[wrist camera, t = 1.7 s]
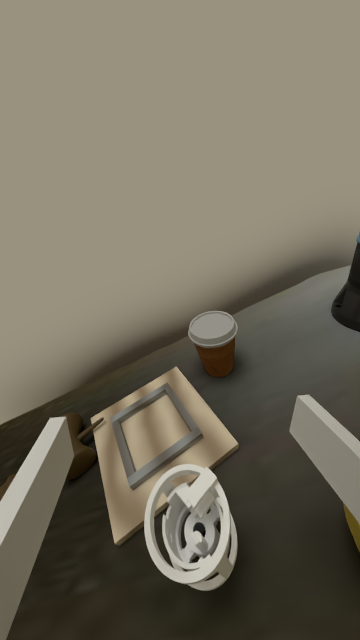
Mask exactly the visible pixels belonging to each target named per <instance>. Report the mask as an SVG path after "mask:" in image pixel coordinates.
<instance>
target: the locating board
mask: <svg viewBox="0 0 360 640" xmlns="http://www.w3.org/2000/svg"><path fill="white" fill-rule="evenodd" d="M102 417H103V418H104V420H103V421H102V422H101V423H100V424H99V425H98V426H97V427H96V428H94V429H93V432H94V438H95V443H96V448H97V453H98V459H99V464H100V469H101V475H102V480H103V485H104V490H105V496H106V501H107V506H108V511H109V517H110V522H111V527H112V533H113V538H114V543H115V544H116V545H118V546H120V545H121V544H122V543H124V542H125V541H126V540H127V539H129V538H130V537H131V536H132V535H133V534H135V533H136V532H137V531H138V530H140V529H141V528H142V527H143V526H144V519H145V511H146V506H147V502H148V499H149V496H150V494H151V491H152V489H153V488H154V486H155V484H156V483H157V481H158V480H159V479H160V478H161V476H162V475H163V474H165V473H166V472H167V471H168V470H170V469H171V468H173V467H176V466H178V465H182V464H194V465H197V466H200V467H202V468H204V469H205V468H206V467H207V468H209V469H210V470H213V469H214V468H215V467H216V466H217V465H219V464H220V463H221V462H222V461H224V460H225V459H226V458H227V457H228V456H230V455H231V454H232V453H233V452H234V451H236V450H237V449H238V448H239V445H238V443H237V441H236V440H235V439H234V438H233V436H232V435H231V434H230V433H229V431H228V430H227V429H226V428H225V426H224V425H223V424H222V423H221V421H220V420H219V419H218V418H217V416H216V415H215V414H214V413H213V411H212V410H211V409H210V408H209V406H208V405H207V404H206V403H205V401H204V400H203V399H202V398H201V397H200V395H199V394H198V393H197V392H196V390H195V389H194V388H193V387H192V385H191V384H190V383H189V382H188V380H187V379H186V378H185V377H184V375H183V374H182V373H181V372H180V370H179V369H178V368H177V367H175V368H173V369H172V370H170V371H168V372H167V373H165V374H163V375H162V376H160V377H158V378H157V379H155V380H154V381H152V382H150V383H149V384H147V385H145V386H144V387H142V388H140V389H139V390H137V391H135V392H134V393H132V394H130V395H129V396H127V397H125V398H124V399H122V400H120V401H119V402H117V403H115V404H114V405H112V406H110V407H109V408H107V409H105V410H104V411H102V412H100V413H99V414H97V415H95V416H94V417H92V418H91V422H92V424H93V423H95V422H96V421H97V420H99V419H100V418H102ZM198 477H199V476H197V475H192V474H187V475H182V476H179V477H177V478H175V479H174V480H173V481H171V482H172V484H173V485H174V486H175V488H176V487H178V486H179V485H181V484H183V483H186V482H188V483H189V485H190V486H191V485H192V484H193V483H194V482H195V481H196V479H197V478H198ZM169 505H170V504H169V503H168V502H167V497H166V495H165V494H164V493H163V492H162V494H161V495H160V498H159V500H158V503H157V506H156V510H155V515H154V517H155V516H157V515H158V514H159V513H160V512H161V511H163V510H164V509H165V508H166V507H168V506H169Z"/></svg>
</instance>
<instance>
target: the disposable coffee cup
mask: <svg viewBox="0 0 360 640" xmlns="http://www.w3.org/2000/svg"><path fill="white" fill-rule="evenodd" d="M237 329H238V327H237V323H236V322H235V321H234V319H233V317H232V316H231V315H229V314H228V313H225V312H222V311H211V312H206V313H202V314H200V315H199V316H197V317H196V318H194V319H193V320H192V321H191V323H190V328H189V331H188V335H189V337H190V339H191V340H192V341H193V342H194V344H195V347H196V349H197V351H198V353H199V356H200V358H201V360H202V363H203V365H204V367H205V370H206V372H207V373H208V374H209V375H211V376H214V377H223V376H226V375H228V374H229V373H230V372H231V371H232V369H233V364H234V348H235V335H236V333H237Z"/></svg>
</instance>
